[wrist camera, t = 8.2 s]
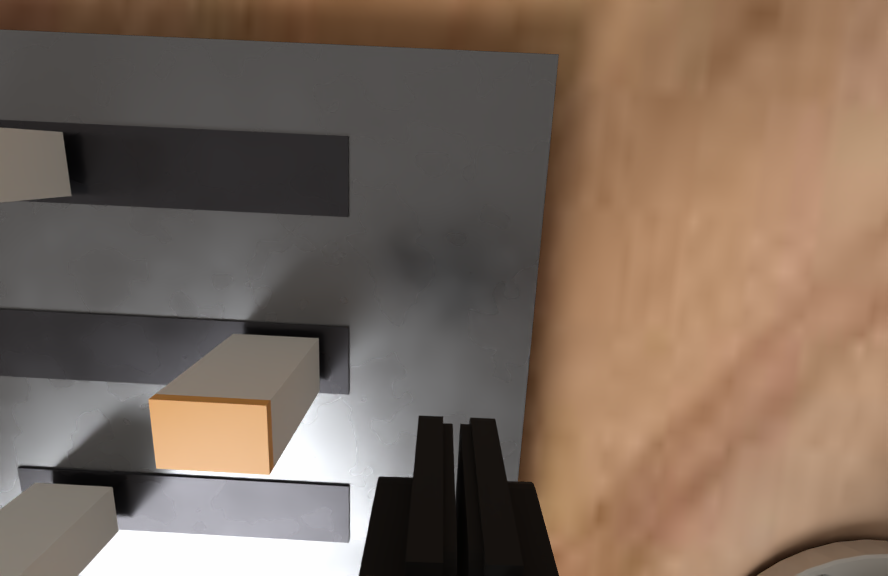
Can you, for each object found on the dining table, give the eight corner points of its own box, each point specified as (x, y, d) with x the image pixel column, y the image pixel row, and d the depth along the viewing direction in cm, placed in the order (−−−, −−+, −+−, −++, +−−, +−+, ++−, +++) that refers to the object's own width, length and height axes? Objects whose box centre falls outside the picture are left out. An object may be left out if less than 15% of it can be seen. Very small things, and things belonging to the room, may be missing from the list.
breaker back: (112, 487, 19) (6, 587, 14) (118, 530, 19) (18, 640, 15) (34, 482, 19) (-95, 581, 15) (43, 526, 19) (-80, 635, 15)
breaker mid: (319, 338, 17) (266, 405, 12) (319, 391, 18) (269, 474, 13) (233, 333, 17) (148, 399, 12) (236, 386, 18) (156, 468, 13)
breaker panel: (547, 66, 17) (559, 53, 15) (501, 566, 22) (506, 607, 20) (-245, 31, 18) (-336, 14, 15) (-107, 531, 23) (-162, 567, 21)
